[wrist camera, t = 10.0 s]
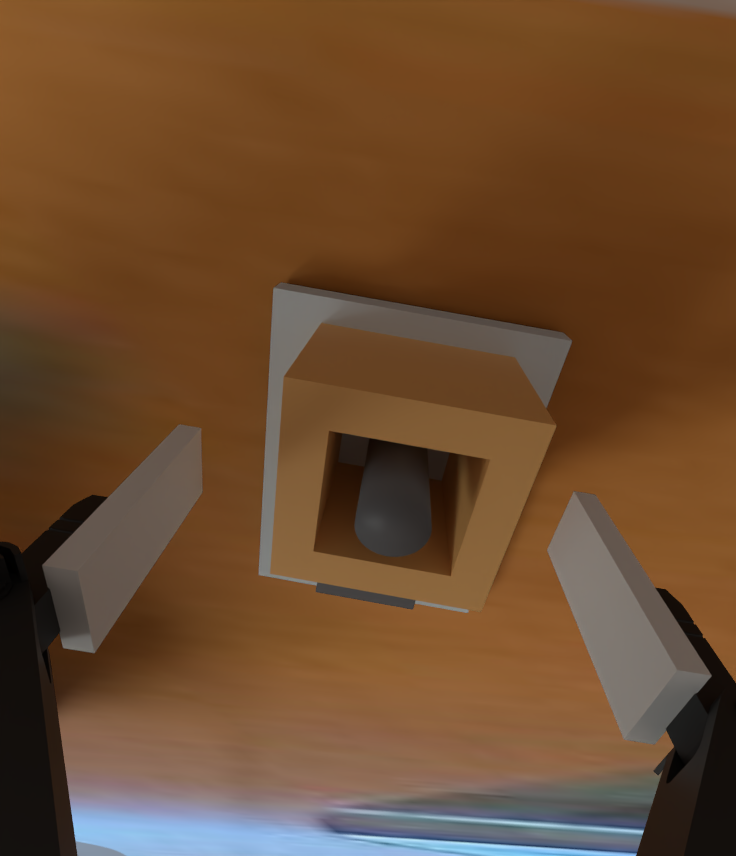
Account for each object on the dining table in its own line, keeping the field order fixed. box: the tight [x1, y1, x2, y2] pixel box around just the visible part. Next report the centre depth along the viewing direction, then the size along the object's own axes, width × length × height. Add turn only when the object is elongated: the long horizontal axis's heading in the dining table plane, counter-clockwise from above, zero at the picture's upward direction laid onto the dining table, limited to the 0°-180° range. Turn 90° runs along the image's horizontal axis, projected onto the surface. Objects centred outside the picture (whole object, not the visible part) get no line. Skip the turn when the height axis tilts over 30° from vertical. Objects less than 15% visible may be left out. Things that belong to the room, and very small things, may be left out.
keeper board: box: [259, 282, 572, 613], centre depth 19 cm, size 12×16×8 cm
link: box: [270, 323, 557, 612], centre depth 17 cm, size 8×8×6 cm
